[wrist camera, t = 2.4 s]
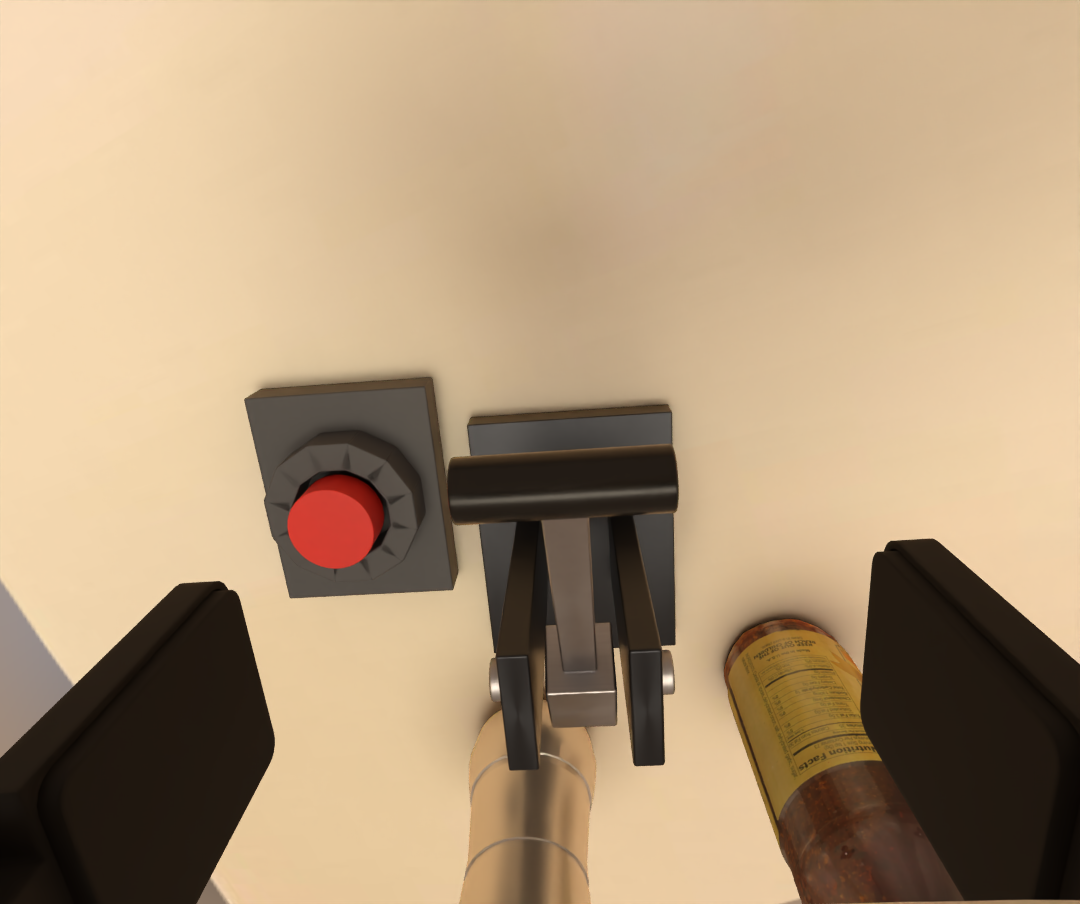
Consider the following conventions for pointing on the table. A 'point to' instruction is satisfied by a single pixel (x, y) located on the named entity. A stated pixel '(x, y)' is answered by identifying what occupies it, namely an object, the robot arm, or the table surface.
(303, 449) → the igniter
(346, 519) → the button
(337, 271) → the table surface
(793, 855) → the sauce bottle
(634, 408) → the bracket
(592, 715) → the lever
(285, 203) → the table surface
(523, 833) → the plastic bottle
